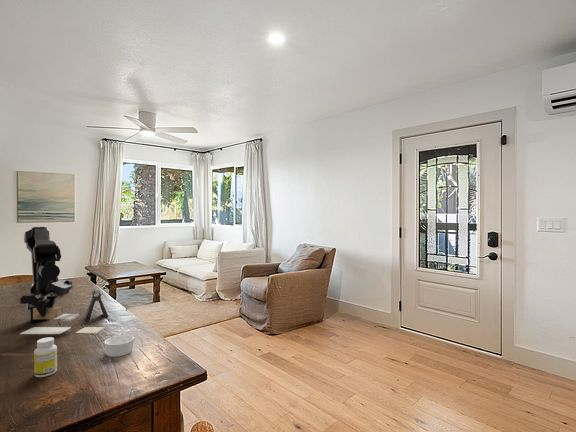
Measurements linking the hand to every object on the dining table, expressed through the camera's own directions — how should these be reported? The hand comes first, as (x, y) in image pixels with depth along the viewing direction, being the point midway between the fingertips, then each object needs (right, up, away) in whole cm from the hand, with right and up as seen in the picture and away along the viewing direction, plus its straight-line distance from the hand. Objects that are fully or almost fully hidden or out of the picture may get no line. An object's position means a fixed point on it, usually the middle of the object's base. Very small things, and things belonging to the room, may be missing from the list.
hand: (45, 315), depth 126 cm
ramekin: (+38, -7, -17) cm, 42 cm away
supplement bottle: (+24, -7, -32) cm, 40 cm away
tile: (+13, -6, 0) cm, 15 cm away
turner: (+4, -1, 0) cm, 4 cm away
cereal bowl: (-38, -6, +55) cm, 67 cm away
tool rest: (0, -6, 0) cm, 6 cm away
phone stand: (+10, -7, +16) cm, 20 cm away
